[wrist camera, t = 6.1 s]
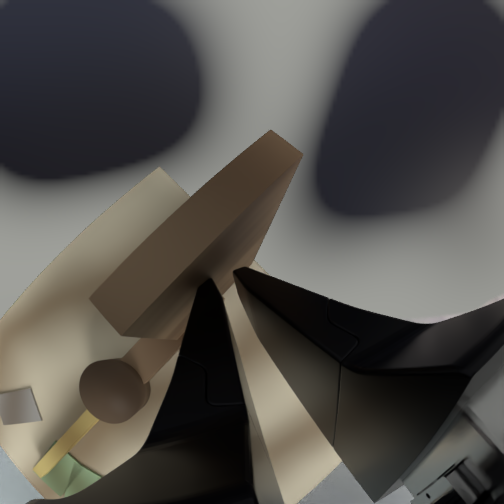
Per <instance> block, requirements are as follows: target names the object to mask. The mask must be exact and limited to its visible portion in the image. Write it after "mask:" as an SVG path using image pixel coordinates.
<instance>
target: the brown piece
mask: <svg viewBox="0 0 504 504" xmlns="http://www.w3.org/2000/svg"><path fill="white" fill-rule="evenodd" d="M302 156H303V154H302V153H301V152H300V151H298V150H297V149H296V148H294V147H293V146H292V145H291V144H289V143H288V142H287V141H286V140H284V139H283V138H282V137H280V136H279V135H277V134H276V133H275V132H273V131H272V130H270V131H268V132H267V133H266V134H264V135H263V136H262V137H261V138H259V139H258V140H257V141H256V142H254V143H253V144H252V145H251V146H250V147H248V148H247V149H246V150H245V151H243V152H242V153H241V154H240V155H239V156H237V157H236V158H235V159H234V160H233V161H231V162H230V163H229V164H228V165H227V166H226V167H224V168H223V169H222V170H221V171H220V172H218V173H217V174H216V175H215V176H214V177H213V178H211V179H210V180H209V181H208V182H207V183H206V184H205V185H203V186H202V187H201V188H200V189H199V190H198V191H197V192H196V193H194V195H192V196H191V197H190V198H189V199H188V200H187V201H186V202H184V203H183V204H182V205H181V206H180V207H179V208H178V209H177V210H176V211H175V212H174V213H173V214H171V215H170V216H169V217H168V218H167V219H166V220H165V221H164V222H163V223H162V224H161V225H160V226H159V227H158V228H157V229H156V230H155V231H154V232H153V233H151V234H150V235H149V236H148V237H147V238H146V239H145V240H144V241H143V242H142V243H141V244H140V245H139V246H138V247H137V248H136V249H135V250H134V251H133V252H132V253H131V254H130V255H129V256H128V257H127V258H126V259H125V260H124V261H123V262H122V263H121V264H120V265H119V266H118V267H117V268H116V270H115V271H114V272H113V273H112V274H111V275H110V276H109V277H108V278H107V279H106V280H105V281H104V282H103V283H102V284H101V285H100V286H99V287H98V289H97V290H96V291H95V292H94V293H93V294H92V295H91V296H90V297H89V298H88V299H89V300H90V301H91V302H92V304H93V305H94V306H95V307H96V308H97V310H98V311H99V312H100V313H101V314H102V315H103V317H104V318H105V319H106V320H107V321H108V322H109V323H110V324H111V326H112V327H113V328H114V329H115V330H116V331H117V332H118V333H119V334H120V335H121V336H125V337H137V338H140V339H139V340H138V341H137V343H136V344H135V345H134V346H133V347H132V348H131V349H130V350H129V351H128V352H127V353H126V354H125V355H124V356H123V357H122V358H115V359H107V360H100V361H96V362H93V363H91V364H90V365H88V366H87V367H86V368H85V370H84V371H83V373H82V375H81V377H80V382H79V392H80V396H81V399H82V402H83V404H84V406H85V407H86V408H87V410H86V411H85V412H84V413H83V414H82V415H81V416H80V417H79V419H78V420H77V421H76V422H75V423H74V424H73V425H72V426H71V427H70V428H69V429H68V431H67V432H66V433H65V434H64V435H63V436H62V437H61V438H60V439H59V440H58V441H57V443H56V444H55V445H54V446H53V447H52V448H51V449H50V450H49V451H48V452H47V453H46V455H45V456H44V457H43V458H42V459H41V460H40V461H39V462H38V463H37V465H36V466H35V467H34V468H33V471H34V472H35V473H36V474H37V475H38V476H39V477H40V478H42V477H43V476H45V475H46V474H48V473H49V472H50V471H51V470H52V469H53V468H54V467H55V466H56V464H57V463H58V462H59V461H60V460H61V459H62V458H63V457H64V456H65V455H66V454H67V453H68V452H69V451H70V450H71V449H72V448H73V447H74V446H75V445H76V444H77V443H78V442H79V441H80V440H81V438H82V437H83V436H84V435H85V434H86V433H87V432H88V431H89V430H90V429H91V428H92V427H93V426H94V425H95V424H96V423H97V422H98V421H99V420H101V421H103V422H106V423H111V424H119V423H123V422H125V421H127V420H129V419H130V418H131V417H133V416H134V415H135V414H136V413H137V412H138V411H139V410H141V409H142V408H143V407H144V406H145V405H146V403H147V402H148V400H149V397H150V392H151V387H150V382H149V381H150V380H151V379H152V378H153V377H154V376H155V375H156V373H157V372H158V371H159V370H160V369H161V368H162V367H163V366H164V365H165V364H166V363H167V362H168V361H169V360H170V359H171V358H172V357H173V356H174V355H175V354H176V352H177V351H178V350H179V349H180V347H181V343H182V340H183V336H184V332H185V329H186V325H187V322H188V318H189V315H190V311H191V308H192V304H193V301H194V298H195V294H196V291H197V288H198V287H199V286H200V285H202V284H203V283H204V282H205V281H207V280H208V279H209V278H212V279H213V280H214V282H215V284H216V286H217V288H218V289H219V291H220V293H221V295H223V294H224V293H225V292H226V291H227V290H228V289H229V288H230V287H231V286H232V285H233V284H234V282H235V281H234V278H233V270H235V269H238V268H241V267H244V266H246V267H249V266H250V265H251V264H252V263H253V261H254V259H255V256H256V254H257V252H258V250H259V248H260V246H261V244H262V242H263V239H264V237H265V235H266V233H267V231H268V229H269V227H270V224H271V223H272V220H273V218H274V216H275V214H276V212H277V210H278V208H279V206H280V203H281V201H282V199H283V197H284V195H285V193H286V191H287V188H288V186H289V184H290V182H291V180H292V178H293V176H294V174H295V171H296V169H297V167H298V165H299V163H300V160H301V159H302ZM222 297H223V296H222ZM223 300H224V301H225V298H224V297H223Z"/></svg>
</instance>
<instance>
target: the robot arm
mask: <svg viewBox="0 0 504 504" xmlns="http://www.w3.org/2000/svg"><path fill="white" fill-rule="evenodd" d="M233 278H234V281H235V285H236V289H237V293H238V296H239V299H240V301H241V303H242V305H243V308H244V310H245V312H246V314H247V316H248V318H249V321H250V323H251V325H252V327H253V329H254V331H255V333H256V335H257V337H258V339H259V341H260V342H261V344H262V345H263V347H264V348H265V350H266V351H267V353H268V354H269V356H270V358H271V359H272V361H273V362H274V364H275V365H276V367H277V368H278V370H279V371H280V373H281V374H282V376H283V377H284V378H285V380H286V381H287V383H288V384H289V386H290V387H291V389H292V390H293V392H294V393H295V395H296V396H297V398H298V399H299V401H300V402H301V403H302V405H303V406H304V408H305V409H306V411H307V412H308V413H309V415H310V416H311V418H312V419H313V421H314V422H315V423H316V425H317V426H318V428H319V429H320V431H321V432H322V433H323V435H324V436H325V438H326V439H327V440H328V442H329V443H330V445H331V446H332V447H334V448H333V449H334V450H335V452H336V453H337V454H338V456H339V457H340V458H341V460H342V461H343V462H344V464H345V465H346V467H347V468H348V469H349V471H350V472H351V473H352V475H353V476H354V477H355V479H356V480H357V481H358V483H359V484H360V485H361V487H362V488H363V489H364V490H365V492H366V493H367V494H368V496H369V497H370V498H371V500H372V501H373V502H374V503H376V502H377V501H379V500H381V499H382V498H384V497H386V496H387V495H389V494H390V493H392V492H393V491H395V490H397V489H398V488H400V487H401V486H403V485H405V486H406V488H407V489H408V490H409V492H410V493H411V494H412V496H413V497H414V499H413V500H411V501H410V502H411V504H504V299H502V300H500V301H497V302H495V303H492V304H490V305H487V306H485V307H482V308H479V309H476V310H474V311H471V312H468V313H465V314H462V315H459V316H456V317H454V318H450V319H447V320H444V321H441V322H438V323H432V324H420V323H414V322H410V321H405V320H401V319H397V318H393V317H389V316H385V315H381V314H377V313H373V312H370V311H366V310H363V309H359V308H356V307H353V306H350V305H347V304H344V303H341V302H338V301H336V300H333V299H329V298H327V297H325V296H322V295H319V294H317V293H314V292H311V291H309V290H306V289H304V288H301V287H298V286H295V285H293V284H290V283H288V282H285V281H282V280H280V279H277V278H275V277H272V276H269V275H267V274H264V273H262V272H259V271H256V270H254V269H251V268H249V267H246V266H244V267H241V268H238V269H235V270H233ZM26 504H284V501H283V498H282V495H281V491H280V488H279V485H278V482H277V479H276V476H275V473H274V470H273V466H272V463H271V460H270V457H269V454H268V450H267V447H266V444H265V440H264V437H263V434H262V430H261V427H260V424H259V420H258V417H257V413H256V410H255V407H254V403H253V400H252V396H251V393H250V389H249V385H248V382H247V378H246V375H245V371H244V367H243V364H242V360H241V356H240V353H239V349H238V346H237V343H236V340H235V336H234V333H233V330H232V327H231V323H230V320H229V317H228V314H227V310H226V307H225V304H224V300H223V297H222V295H221V293H220V291H219V289H218V288H217V286H216V284H215V282H214V280H213V279H212V278H209V279H208V280H207V281H205V282H204V283H203V284H202V285H200V286H199V287H198V288H197V291H196V294H195V298H194V301H193V304H192V308H191V311H190V315H189V318H188V322H187V325H186V329H185V332H184V336H183V340H182V343H181V347H180V350H179V354H178V357H177V361H176V365H175V368H174V372H173V375H172V378H171V381H170V384H169V386H168V389H167V391H166V394H165V397H164V399H163V401H162V404H161V406H160V408H159V411H158V413H157V416H156V418H155V420H154V423H153V425H152V428H151V430H150V432H149V435H148V437H147V439H146V441H145V443H144V444H143V446H142V447H141V448H140V450H139V451H138V452H137V453H136V454H135V455H134V456H132V457H131V458H130V459H128V460H127V461H125V462H124V463H123V464H121V465H120V466H118V467H117V468H115V469H114V470H112V471H111V472H109V473H108V474H106V475H105V476H103V477H102V478H100V479H99V480H97V481H96V482H94V483H93V484H91V485H90V486H88V487H86V488H85V489H83V490H81V491H79V492H78V493H75V494H73V495H70V496H68V497H64V498H60V499H34V500H31V501H29V502H27V503H26Z"/></svg>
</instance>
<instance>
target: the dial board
mask: <svg viewBox="0 0 504 504" xmlns="http://www.w3.org/2000/svg"><path fill="white" fill-rule="evenodd" d="M189 198H190V196H189V195H188V194H187V193H186V192H185V191H184V190H183V189H182V188H181V187H180V186H179V185H178V184H177V183H176V182H175V181H174V180H173V179H172V178H171V177H170V176H169V175H168V174H167V173H166V172H165V171H164V170H163V169H162V168H161V167H158V168H157V169H156V170H154V171H153V172H152V173H150V174H149V175H148V176H147V177H145V178H144V179H143V180H142V181H140V182H139V183H138V184H137V185H135V186H134V187H133V188H132V189H131V190H129V191H128V192H127V193H126V194H125V195H123V196H122V197H121V198H120V199H119V200H117V201H116V202H115V203H114V204H113V205H112V206H110V207H109V208H108V209H107V210H106V211H105V212H104V213H102V214H101V215H100V216H99V217H98V218H97V219H96V220H95V221H94V222H92V223H91V224H90V225H89V226H88V227H87V228H86V229H85V230H84V231H83V232H82V233H81V234H79V235H78V236H77V237H76V238H75V239H74V240H73V241H72V242H71V243H70V244H69V245H68V246H67V247H66V248H65V249H64V250H63V251H62V252H61V253H60V254H59V255H58V256H57V257H56V258H55V259H54V260H53V261H52V262H51V263H50V264H49V265H48V266H47V267H46V268H45V269H44V270H43V271H42V273H41V274H40V275H39V276H38V277H37V278H36V279H35V280H34V281H33V282H32V283H31V284H30V286H29V287H28V288H27V289H26V290H25V291H24V292H23V293H22V295H21V296H20V297H19V298H18V299H17V300H16V302H15V303H14V304H13V305H12V306H11V307H10V309H9V310H8V311H7V312H6V313H5V315H4V316H3V317H2V318H1V320H0V445H1V447H2V448H3V450H4V451H5V452H6V454H7V455H8V456H9V458H10V459H11V460H12V461H13V463H14V464H15V465H16V467H17V468H18V469H19V470H20V471H21V473H22V474H23V475H24V476H25V477H26V479H27V480H28V481H29V482H30V483H31V484H32V485H33V486H34V488H35V489H36V490H37V491H38V492H39V493H40V494H41V495H42V496H43V497H44V498H45V499H60V498H64V497H68V496H70V495H73V494H75V493H78V492H79V491H81V490H83V489H85V488H86V487H88V486H90V485H91V484H93V483H94V482H96V481H97V480H99V479H100V478H102V477H103V476H105V475H106V474H108V473H109V472H111V471H112V470H114V469H115V468H117V467H118V466H120V465H121V464H123V463H124V462H125V461H127V460H128V459H130V458H131V457H132V456H134V455H135V454H136V453H137V452H138V451H139V450H140V448H141V447H142V446H143V444H144V443H145V441H146V439H147V437H148V435H149V432H150V430H151V428H152V425H153V423H154V420H155V418H156V416H157V413H158V411H159V408H160V406H161V404H162V401H163V399H164V397H165V394H166V391H167V389H168V386H169V384H170V381H171V378H172V375H173V372H174V368H175V365H176V361H177V357H178V354H179V350H180V349H179V350H178V351H177V352H176V354H175V355H174V356H173V357H172V358H171V359H170V360H169V361H168V362H167V363H166V364H165V365H164V366H163V367H162V368H161V369H160V370H159V371H158V372H157V373H156V375H155V376H154V377H153V378H152V379H151V380H150V381H149V382H150V387H151V392H150V397H149V400H148V402H147V403H146V405H145V406H144V407H143V408H142V409H141V410H139V411H138V412H137V413H136V414H135V415H134V416H133V417H131V418H130V419H129V420H127V421H125V422H123V423H119V424H111V423H106V422H103V421H101V420H99V421H98V422H97V423H96V424H95V425H94V426H93V427H92V428H91V429H90V430H89V431H88V432H87V433H86V434H85V435H84V436H83V437H82V438H81V440H80V441H79V442H78V443H77V444H76V445H75V446H74V447H73V448H72V449H71V450H70V451H69V452H68V453H67V454H66V455H65V456H64V457H63V458H62V459H61V460H60V461H59V462H58V463H57V464H56V466H55V467H54V468H53V469H52V470H51V471H50V472H49V473H48V474H46V475H45V476H43V477H42V478H40V477H39V476H38V475H37V474H36V473H35V472H34V471H33V468H34V467H35V466H36V465H37V463H38V462H39V461H40V460H41V459H42V458H43V457H44V456H45V455H46V453H47V452H48V451H49V450H50V449H51V448H52V447H53V446H54V445H55V444H56V443H57V441H58V440H59V439H60V438H61V437H62V436H63V435H64V434H65V433H66V432H67V431H68V429H69V428H70V427H71V426H72V425H73V424H74V423H75V422H76V421H77V420H78V419H79V417H80V416H81V415H82V414H83V413H84V412H85V411H86V410H87V408H86V407H85V406H84V404H83V402H82V399H81V396H80V392H79V382H80V377H81V375H82V373H83V371H84V370H85V368H86V367H87V366H88V365H90V364H91V363H93V362H96V361H100V360H107V359H115V358H122V357H123V356H124V355H125V354H126V353H127V352H128V351H129V350H130V349H131V348H132V347H133V346H134V345H135V344H136V343H137V341H138V340H139V339H140V338H137V337H125V336H121V335H120V334H119V333H118V332H117V331H116V330H115V329H114V328H113V327H112V326H111V324H110V323H109V322H108V321H107V320H106V319H105V318H104V317H103V315H102V314H101V313H100V312H99V311H98V310H97V308H96V307H95V306H94V305H93V304H92V302H91V301H90V300H89V299H88V298H89V297H90V296H91V295H92V294H93V293H94V292H95V291H96V290H97V289H98V287H99V286H100V285H101V284H102V283H103V282H104V281H105V280H106V279H107V278H108V277H109V276H110V275H111V274H112V273H113V272H114V271H115V270H116V268H117V267H118V266H119V265H120V264H121V263H122V262H123V261H124V260H125V259H126V258H127V257H128V256H129V255H130V254H131V253H132V252H133V251H134V250H135V249H136V248H137V247H138V246H139V245H140V244H141V243H142V242H143V241H144V240H145V239H146V238H147V237H148V236H149V235H150V234H151V233H153V232H154V231H155V230H156V229H157V228H158V227H159V226H160V225H161V224H162V223H163V222H164V221H165V220H166V219H167V218H168V217H169V216H170V215H171V214H173V213H174V212H175V211H176V210H177V209H178V208H179V207H180V206H181V205H182V204H183V203H184V202H186V201H187V200H188V199H189ZM249 268H251V269H254V270H256V271H259V272H262V273H264V274H267V275H269V274H268V273H267V272H266V271H265V270H264V269H263V268H262V267H261V266H260V265H259V264H258V263H257V262H256V261H255V260H254V261H253V263H252V264H251V265H250V266H249ZM269 276H270V275H269ZM222 296H223V297H224V298H225V301H224V304H225V307H226V310H227V314H228V317H229V320H230V323H231V327H232V330H233V333H234V336H235V340H236V343H237V346H238V349H239V353H240V356H241V360H242V364H243V367H244V371H245V375H246V378H247V382H248V385H249V389H250V393H251V396H252V400H253V403H254V407H255V410H256V413H257V417H258V420H259V424H260V427H261V430H262V434H263V437H264V440H265V444H266V447H267V450H268V454H269V457H270V460H271V463H272V466H273V470H274V473H275V476H276V479H277V482H278V485H279V488H280V491H281V495H282V498H283V501H284V504H297V503H298V502H299V501H300V500H301V499H302V498H304V497H305V496H306V495H307V494H308V493H309V492H310V491H311V490H313V489H314V488H315V487H316V486H317V485H318V484H319V483H320V482H321V481H322V480H323V479H324V478H325V477H326V476H327V475H329V474H330V473H331V472H332V471H333V470H334V469H335V468H336V467H337V466H338V465H339V464H340V462H341V461H342V460H341V458H340V457H339V456H338V454H337V453H336V452H335V450H334V449H333V448H334V447H332V446H331V445H330V443H329V442H328V440H327V439H326V438H325V436H324V435H323V433H322V432H321V431H320V429H319V428H318V426H317V425H316V423H315V422H314V421H313V419H312V418H311V416H310V415H309V413H308V412H307V411H306V409H305V408H304V406H303V405H302V403H301V402H300V401H299V399H298V398H297V396H296V395H295V393H294V392H293V390H292V389H291V387H290V386H289V384H288V383H287V381H286V380H285V378H284V377H283V376H282V374H281V373H280V371H279V370H278V368H277V367H276V365H275V364H274V362H273V361H272V359H271V358H270V356H269V354H268V353H267V351H266V350H265V348H264V347H263V345H262V344H261V342H260V341H259V339H258V337H257V335H256V333H255V331H254V329H253V327H252V325H251V323H250V321H249V318H248V316H247V314H246V312H245V310H244V308H243V305H242V303H241V301H240V299H239V296H238V293H237V289H236V285H235V282H234V284H233V285H232V286H231V287H230V288H229V289H228V290H227V291H226V292H225V293H224V294H223V295H222Z"/></svg>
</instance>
